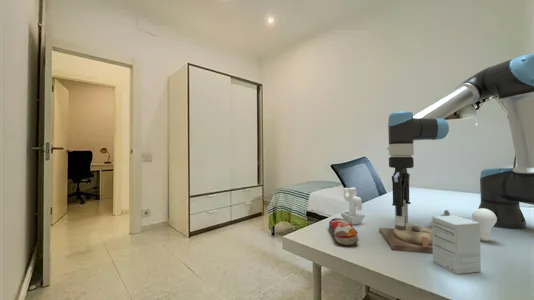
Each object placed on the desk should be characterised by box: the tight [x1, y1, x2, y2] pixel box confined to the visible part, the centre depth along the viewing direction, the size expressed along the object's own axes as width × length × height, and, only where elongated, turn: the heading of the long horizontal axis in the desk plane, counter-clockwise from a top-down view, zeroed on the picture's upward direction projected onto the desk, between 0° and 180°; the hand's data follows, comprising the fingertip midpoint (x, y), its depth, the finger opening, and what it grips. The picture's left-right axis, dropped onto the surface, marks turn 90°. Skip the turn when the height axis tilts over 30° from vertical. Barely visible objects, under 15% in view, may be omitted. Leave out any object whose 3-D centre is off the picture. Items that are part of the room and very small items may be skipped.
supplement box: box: [431, 214, 482, 275], centre depth 63 cm, size 7×7×13 cm
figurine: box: [340, 187, 366, 226], centre depth 101 cm, size 7×9×15 cm
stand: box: [378, 227, 433, 254], centre depth 79 cm, size 19×17×2 cm
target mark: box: [422, 236, 428, 247], centre depth 72 cm, size 1×1×3 cm
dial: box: [393, 200, 433, 244], centre depth 79 cm, size 13×13×12 cm
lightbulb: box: [472, 208, 497, 242], centre depth 80 cm, size 6×6×11 cm
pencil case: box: [328, 217, 360, 246], centre depth 85 cm, size 11×20×5 cm, turn 159°
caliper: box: [424, 209, 451, 229], centre depth 93 cm, size 21×1×6 cm, turn 119°
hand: (401, 223), depth 81 cm, fingers open, 4 cm apart
